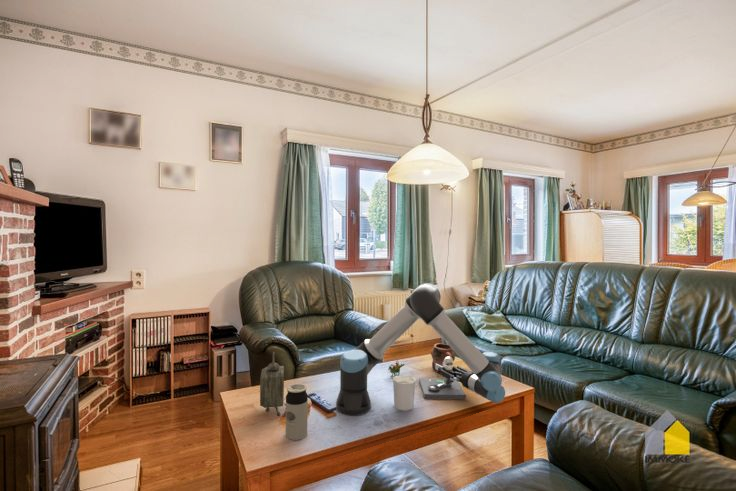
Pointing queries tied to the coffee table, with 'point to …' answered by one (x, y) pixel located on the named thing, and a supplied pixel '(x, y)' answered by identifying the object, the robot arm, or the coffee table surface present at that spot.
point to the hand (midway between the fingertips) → (439, 365)
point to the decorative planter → (441, 354)
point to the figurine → (395, 368)
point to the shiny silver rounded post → (449, 366)
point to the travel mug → (296, 411)
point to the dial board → (441, 389)
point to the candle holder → (404, 392)
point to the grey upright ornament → (272, 386)
